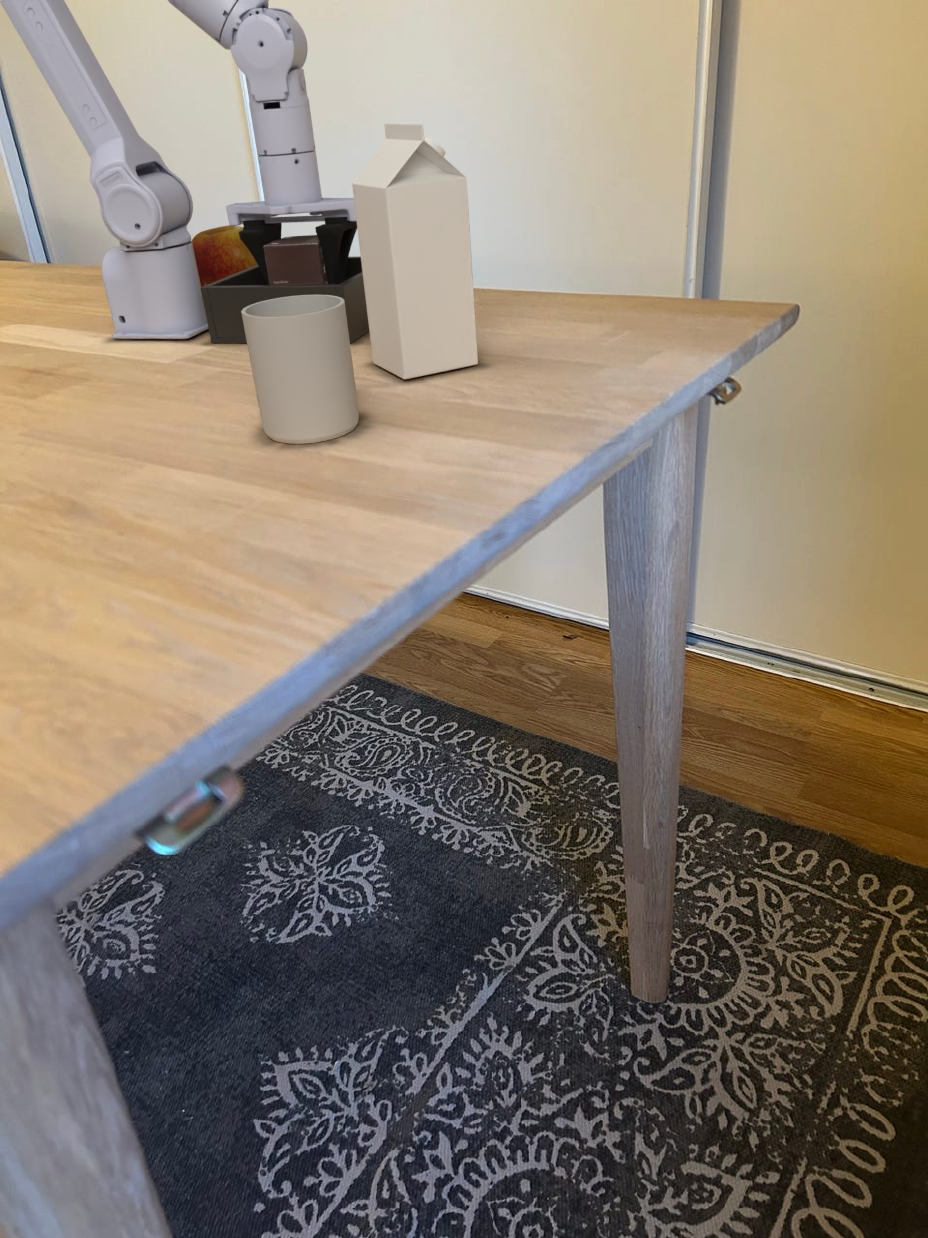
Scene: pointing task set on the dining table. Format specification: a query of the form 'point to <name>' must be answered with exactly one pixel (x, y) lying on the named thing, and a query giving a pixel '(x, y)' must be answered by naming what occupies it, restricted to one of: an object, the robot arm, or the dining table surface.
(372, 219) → the milk carton
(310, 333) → the cup
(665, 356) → the dining table surface
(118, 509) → the dining table surface
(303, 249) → the box
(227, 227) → the fruit
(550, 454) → the dining table surface
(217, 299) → the dark grey square container
